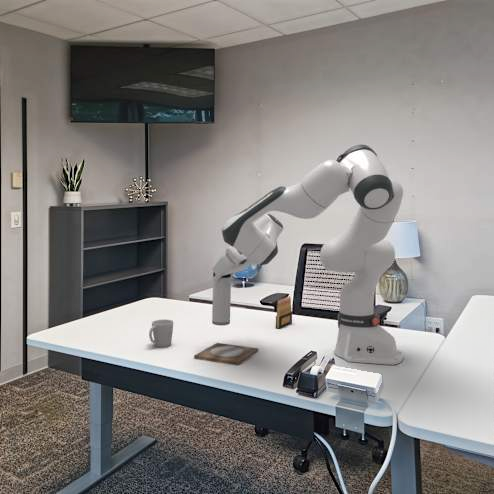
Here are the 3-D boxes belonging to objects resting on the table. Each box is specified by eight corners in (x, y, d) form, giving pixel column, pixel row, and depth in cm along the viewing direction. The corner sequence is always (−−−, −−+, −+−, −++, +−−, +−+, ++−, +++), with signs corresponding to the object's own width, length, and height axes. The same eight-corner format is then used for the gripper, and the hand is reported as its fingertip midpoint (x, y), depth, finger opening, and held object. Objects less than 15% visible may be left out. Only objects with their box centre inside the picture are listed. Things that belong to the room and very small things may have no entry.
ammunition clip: (279, 329, 198) (279, 299, 197) (275, 328, 199) (275, 299, 198) (292, 323, 207) (292, 295, 206) (288, 323, 208) (288, 295, 207)
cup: (178, 344, 177) (177, 321, 176) (158, 351, 169) (157, 327, 168) (162, 341, 181) (162, 318, 181) (142, 347, 173) (142, 323, 172)
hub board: (258, 351, 169) (258, 347, 169) (238, 365, 155) (238, 361, 154) (217, 345, 176) (217, 341, 176) (194, 358, 161) (194, 354, 161)
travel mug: (234, 323, 173) (235, 267, 171) (220, 326, 169) (221, 268, 167) (222, 320, 178) (223, 265, 176) (208, 323, 173) (209, 266, 171)
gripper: (253, 243, 176) (229, 268, 182) (225, 247, 158) (199, 275, 163) (264, 256, 175) (240, 281, 180) (237, 262, 157) (211, 290, 162)
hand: (220, 278), depth 172 cm, fingers closed on travel mug, 6 cm apart
